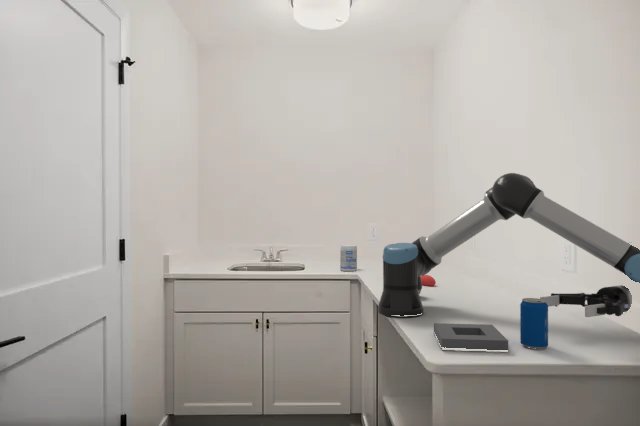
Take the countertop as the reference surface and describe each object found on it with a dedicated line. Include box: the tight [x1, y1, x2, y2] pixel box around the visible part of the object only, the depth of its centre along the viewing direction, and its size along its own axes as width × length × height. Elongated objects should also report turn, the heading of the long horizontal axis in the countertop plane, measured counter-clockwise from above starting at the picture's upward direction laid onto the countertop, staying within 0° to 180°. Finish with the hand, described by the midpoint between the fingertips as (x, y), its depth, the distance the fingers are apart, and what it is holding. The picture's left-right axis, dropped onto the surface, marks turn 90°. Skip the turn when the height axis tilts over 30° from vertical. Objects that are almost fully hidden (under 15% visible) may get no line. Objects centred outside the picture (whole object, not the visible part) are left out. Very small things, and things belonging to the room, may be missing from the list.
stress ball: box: [421, 274, 437, 287], centre depth 217 cm, size 5×9×6 cm, turn 16°
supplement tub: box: [339, 244, 358, 272], centre depth 269 cm, size 10×10×15 cm
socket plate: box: [433, 322, 509, 351], centre depth 123 cm, size 16×16×3 cm
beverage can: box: [519, 297, 549, 350], centre depth 119 cm, size 6×6×12 cm
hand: (562, 306), depth 123 cm, fingers open, 13 cm apart
